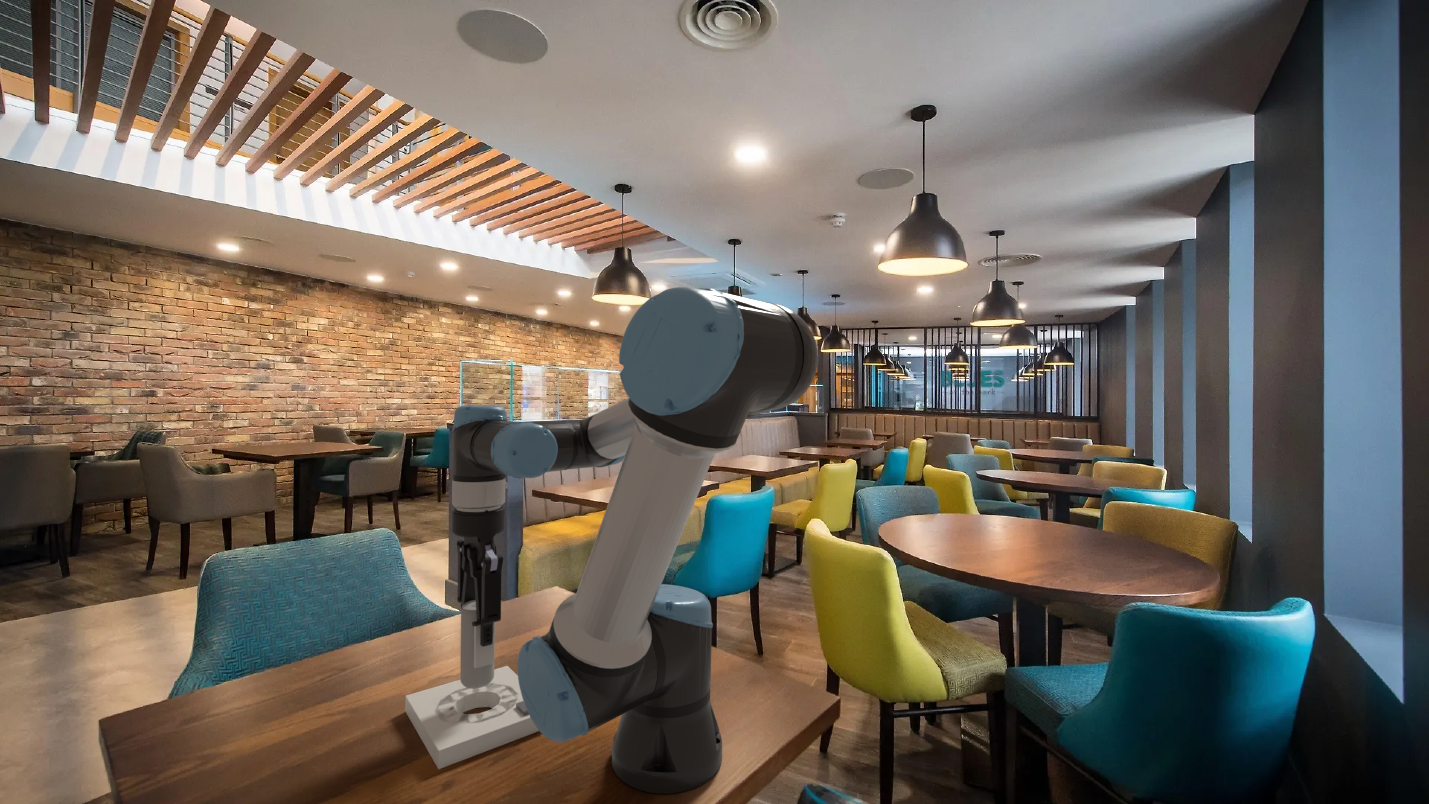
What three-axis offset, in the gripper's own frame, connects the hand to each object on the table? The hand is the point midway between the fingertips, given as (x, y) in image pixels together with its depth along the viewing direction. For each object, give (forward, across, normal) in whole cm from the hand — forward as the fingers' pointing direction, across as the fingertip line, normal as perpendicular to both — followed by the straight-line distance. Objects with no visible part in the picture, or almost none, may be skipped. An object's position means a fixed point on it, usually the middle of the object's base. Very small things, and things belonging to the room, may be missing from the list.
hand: (477, 657), depth 89 cm
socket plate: (+9, 0, 0) cm, 9 cm away
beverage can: (+4, 0, 0) cm, 4 cm away
